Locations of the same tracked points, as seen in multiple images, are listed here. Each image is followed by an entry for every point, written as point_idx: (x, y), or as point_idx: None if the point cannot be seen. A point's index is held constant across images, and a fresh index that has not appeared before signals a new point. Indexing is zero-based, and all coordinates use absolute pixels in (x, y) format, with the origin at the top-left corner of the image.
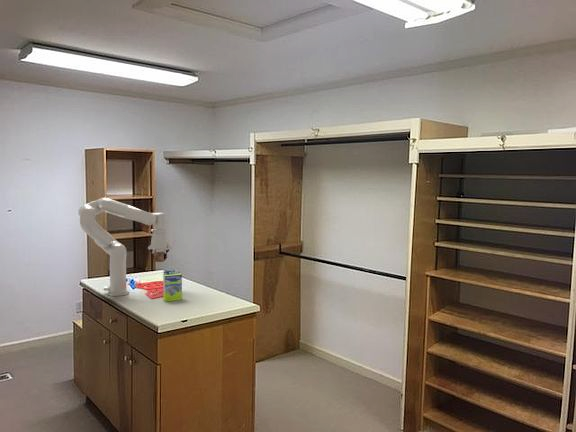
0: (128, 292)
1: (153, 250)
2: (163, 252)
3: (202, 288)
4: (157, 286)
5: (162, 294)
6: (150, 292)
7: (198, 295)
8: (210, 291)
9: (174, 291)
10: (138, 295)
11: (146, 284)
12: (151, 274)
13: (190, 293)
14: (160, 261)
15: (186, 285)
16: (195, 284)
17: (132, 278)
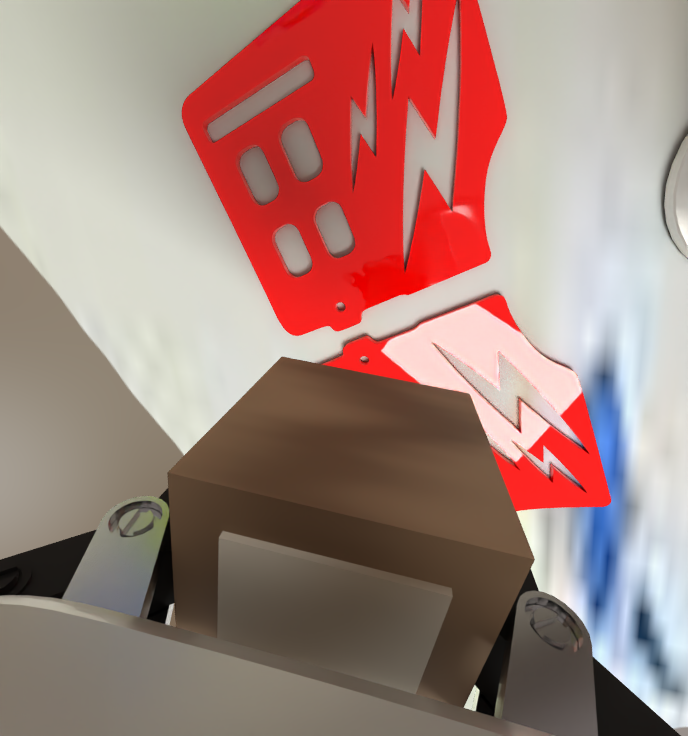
0: (683, 151)
1: (564, 716)
2: (172, 511)
3: (88, 295)
4: (410, 377)
5: (338, 58)
6: (457, 159)
7: (44, 44)
8: (6, 190)
9: None
10: (573, 78)
11: (499, 455)
12: (470, 699)
13: (125, 131)
14: (332, 368)
15: (214, 400)
16: (163, 417)
17: (595, 647)
